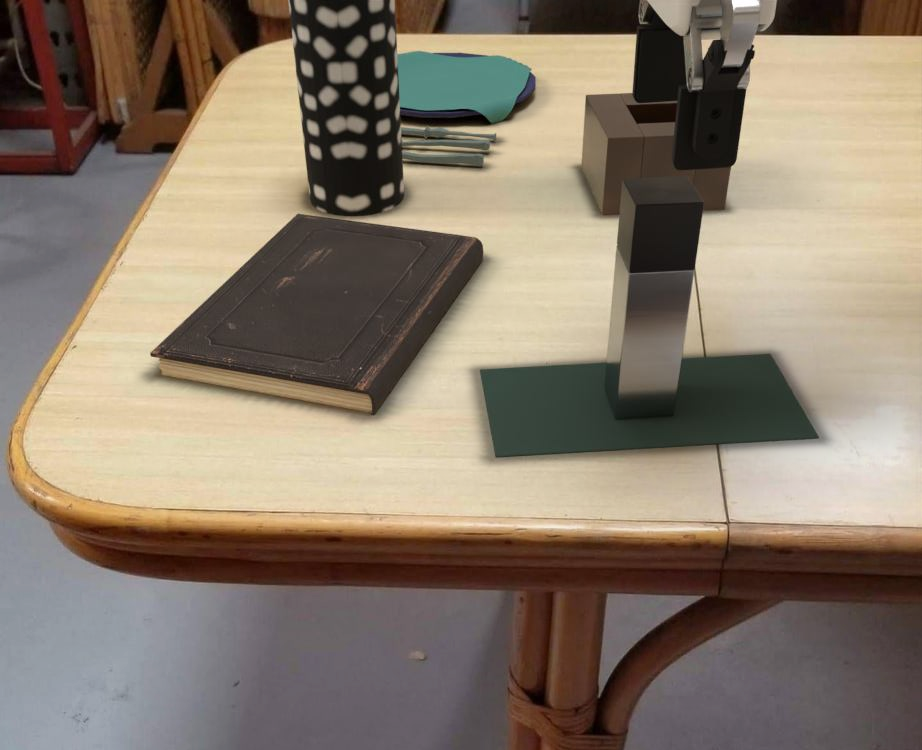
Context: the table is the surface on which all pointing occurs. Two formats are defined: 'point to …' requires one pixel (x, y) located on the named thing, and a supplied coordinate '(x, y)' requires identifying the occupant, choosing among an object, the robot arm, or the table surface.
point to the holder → (637, 150)
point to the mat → (595, 429)
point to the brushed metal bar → (651, 294)
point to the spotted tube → (349, 103)
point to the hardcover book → (324, 312)
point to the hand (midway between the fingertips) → (680, 131)
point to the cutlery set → (458, 96)
